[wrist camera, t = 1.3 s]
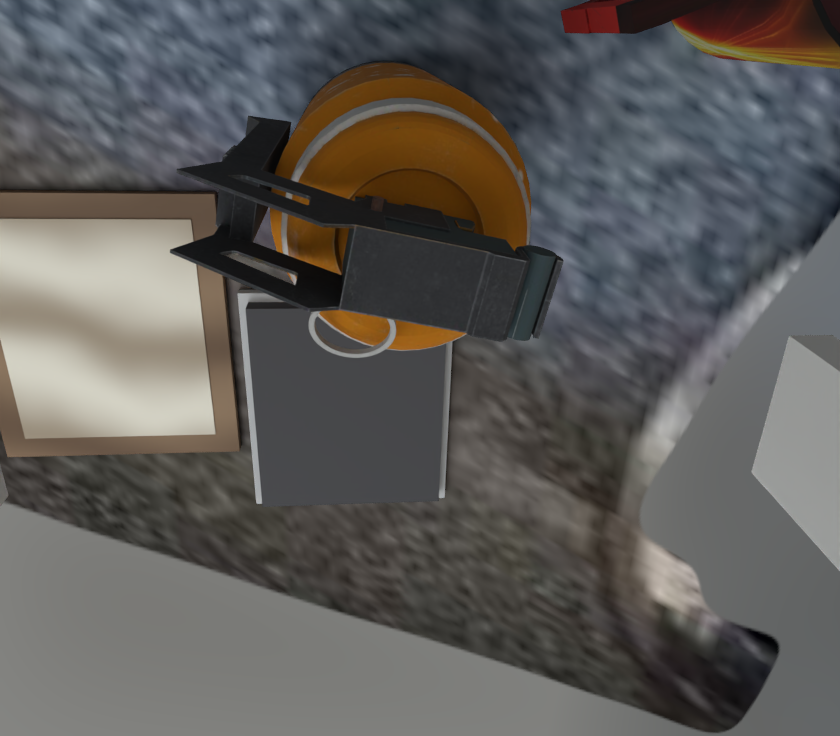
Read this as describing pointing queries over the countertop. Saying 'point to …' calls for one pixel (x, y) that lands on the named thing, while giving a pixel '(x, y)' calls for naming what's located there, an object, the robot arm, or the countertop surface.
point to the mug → (726, 26)
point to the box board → (112, 326)
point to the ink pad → (340, 413)
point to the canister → (384, 215)
